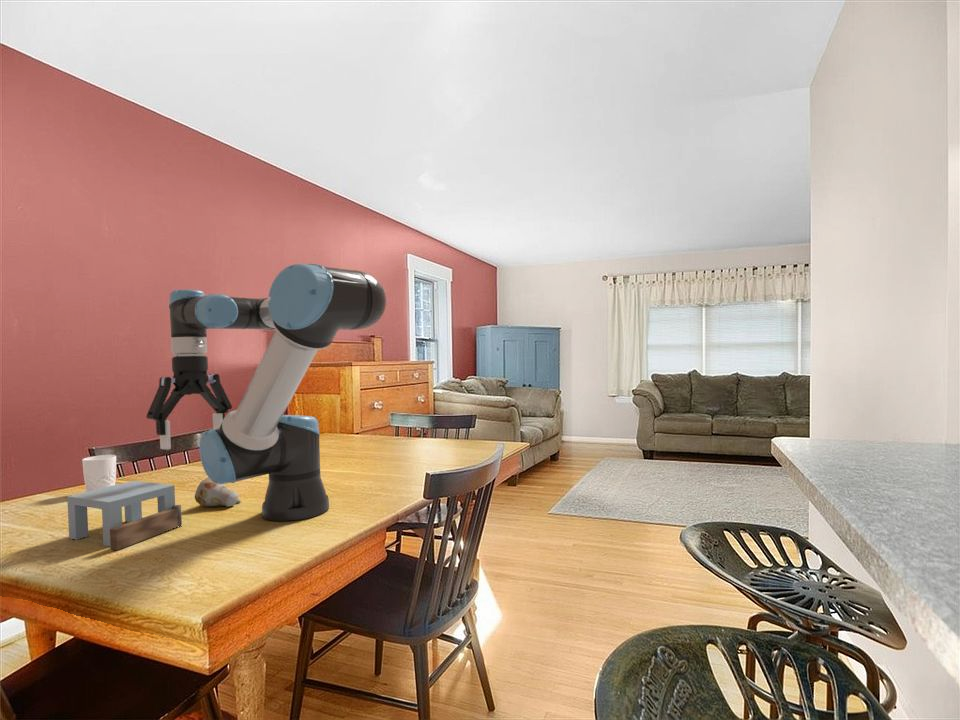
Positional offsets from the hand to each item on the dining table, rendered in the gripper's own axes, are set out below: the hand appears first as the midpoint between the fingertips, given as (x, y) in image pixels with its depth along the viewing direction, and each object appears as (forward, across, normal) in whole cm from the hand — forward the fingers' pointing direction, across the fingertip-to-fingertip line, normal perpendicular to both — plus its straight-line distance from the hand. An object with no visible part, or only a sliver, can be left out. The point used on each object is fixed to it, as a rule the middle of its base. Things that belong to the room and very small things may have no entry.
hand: (193, 444), depth 128 cm
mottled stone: (+17, +7, 0) cm, 18 cm away
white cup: (+17, +3, +46) cm, 49 cm away
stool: (+17, -15, +3) cm, 23 cm away
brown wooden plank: (+17, -15, -6) cm, 23 cm away
